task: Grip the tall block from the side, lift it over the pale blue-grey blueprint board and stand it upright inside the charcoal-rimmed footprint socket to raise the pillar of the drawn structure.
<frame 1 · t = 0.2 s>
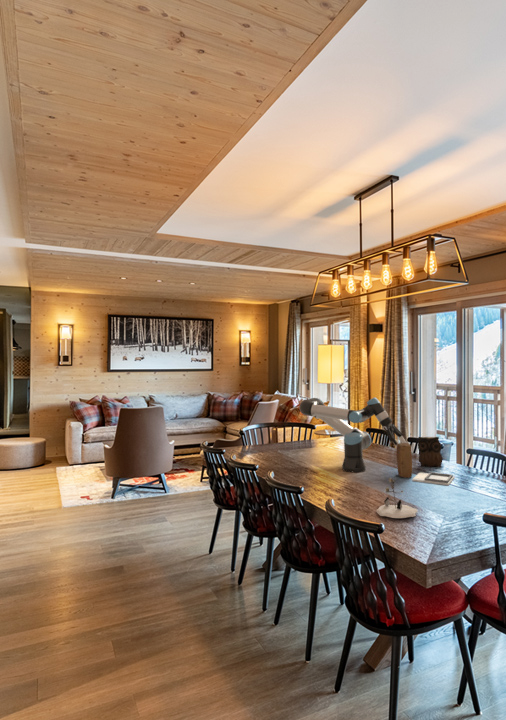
hand: (403, 447, 287), 15 cm above the table, fingers open, 13 cm apart
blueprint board: (433, 479, 263), on the table
block: (404, 476, 273), on the table
owl: (430, 465, 297), on the table
figurine: (396, 514, 207), on the table
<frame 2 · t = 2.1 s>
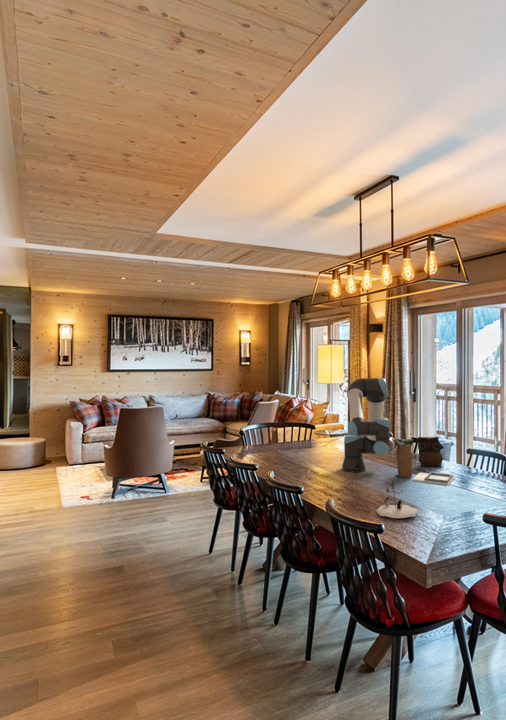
hand: (399, 438, 265), 25 cm above the table, fingers open, 13 cm apart
nothing on the table moved.
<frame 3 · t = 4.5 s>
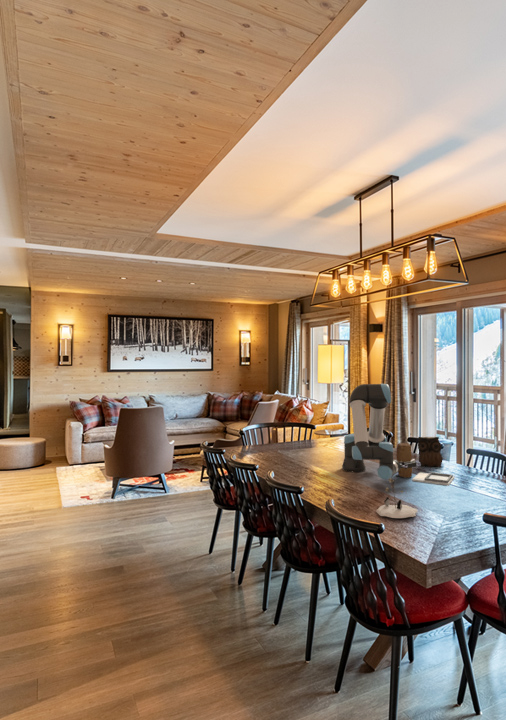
hand: (402, 459, 268), 11 cm above the table, fingers open, 13 cm apart
nothing on the table moved.
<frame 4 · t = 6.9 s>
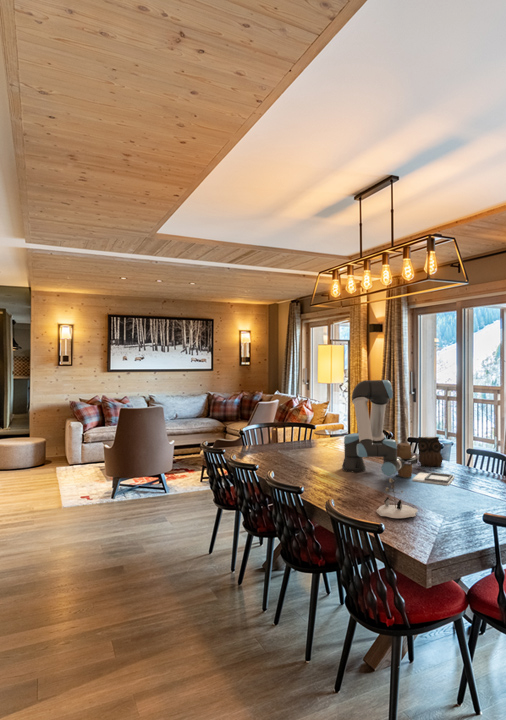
hand: (405, 456, 276), 11 cm above the table, fingers closed on block, 10 cm apart
block: (404, 476, 273), on the table, touching gripper
everything else where it was.
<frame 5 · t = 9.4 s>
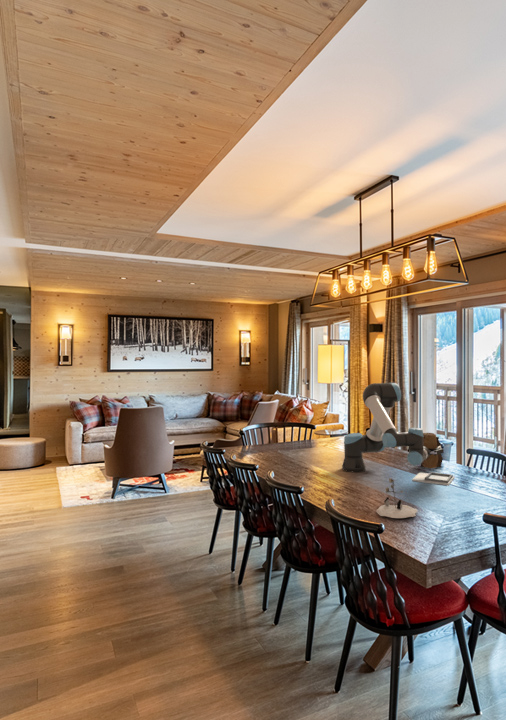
hand: (430, 447, 266), 19 cm above the table, fingers closed on block, 10 cm apart
block: (429, 467, 263), point 7 cm above the table, touching gripper
everything else where it was.
when the fingers open (13 cm above the table, at t = 12.0 s): block stays where it is, resting on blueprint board.
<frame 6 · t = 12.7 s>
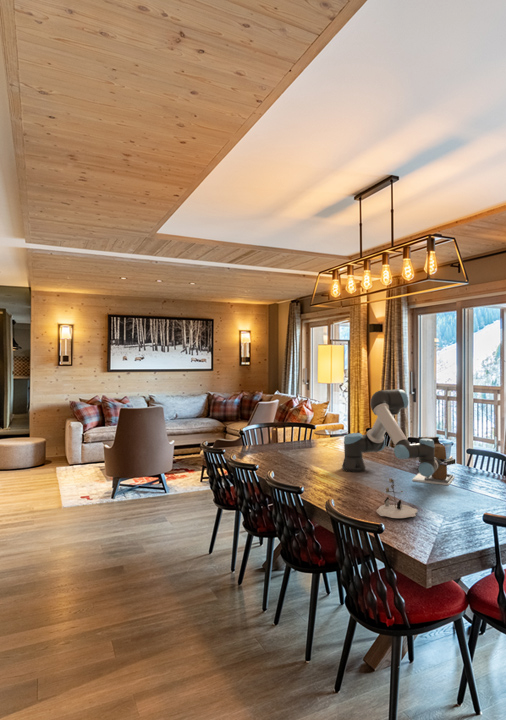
hand: (439, 457, 264), 13 cm above the table, fingers open, 13 cm apart
block: (438, 478, 262), point 1 cm above the table, touching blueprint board
everything else where it was.
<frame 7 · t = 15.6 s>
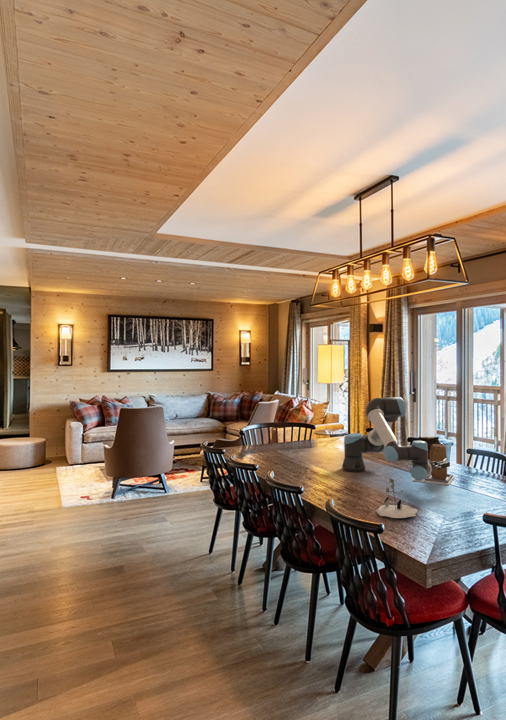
hand: (433, 459, 253), 14 cm above the table, fingers open, 13 cm apart
nothing on the table moved.
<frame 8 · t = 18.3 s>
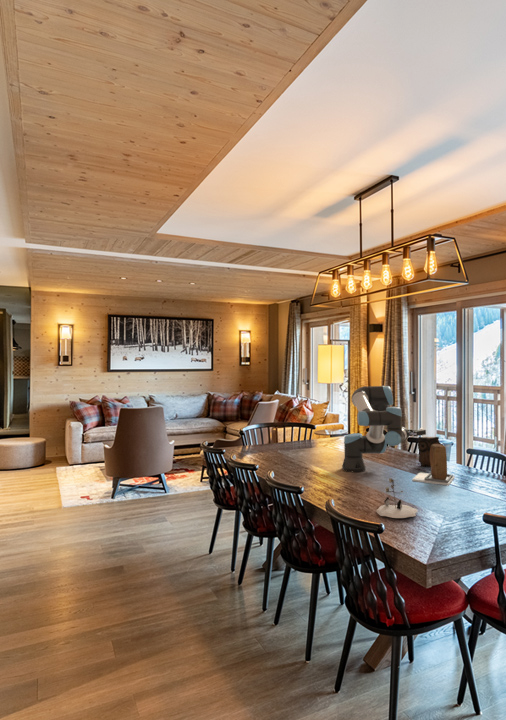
hand: (410, 429, 253), 32 cm above the table, fingers open, 13 cm apart
nothing on the table moved.
at the end: block 0.2 cm from the target spot on the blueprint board, point 0.8 cm above the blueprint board's base; block tilted 0°; the gripper is holding nothing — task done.
